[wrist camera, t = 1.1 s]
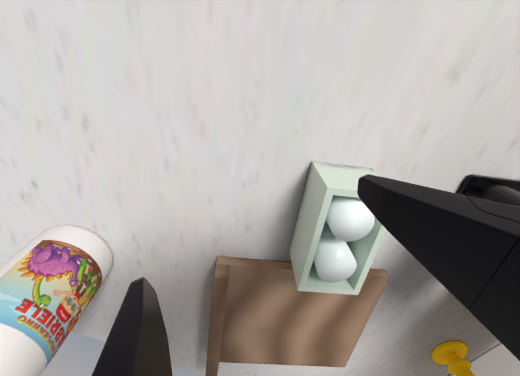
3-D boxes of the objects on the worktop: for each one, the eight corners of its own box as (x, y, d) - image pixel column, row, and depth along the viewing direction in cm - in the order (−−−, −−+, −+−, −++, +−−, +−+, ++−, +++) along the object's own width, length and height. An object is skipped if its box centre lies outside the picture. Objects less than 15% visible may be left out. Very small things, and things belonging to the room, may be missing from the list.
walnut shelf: (384, 269, 31) (398, 291, 28) (342, 358, 39) (349, 382, 36) (217, 256, 29) (213, 277, 26) (208, 352, 37) (205, 377, 34)
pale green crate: (371, 168, 25) (401, 195, 20) (339, 256, 30) (358, 295, 25) (311, 161, 24) (327, 187, 19) (289, 251, 29) (297, 290, 24)
